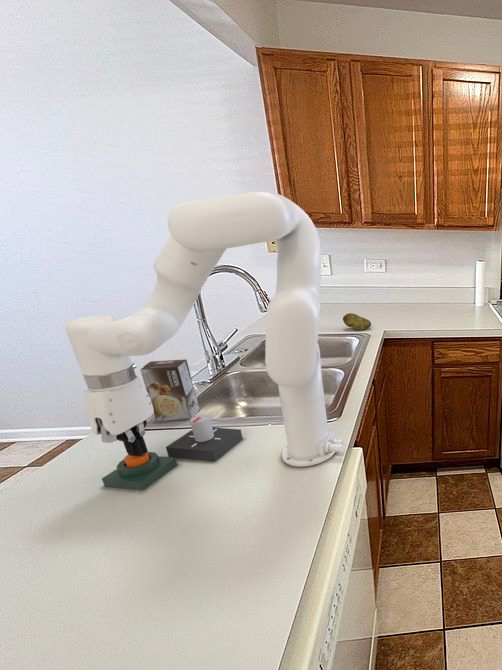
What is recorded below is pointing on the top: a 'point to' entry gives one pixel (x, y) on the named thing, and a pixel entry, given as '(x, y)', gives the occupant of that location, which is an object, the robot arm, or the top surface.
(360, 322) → the potato
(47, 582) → the top surface
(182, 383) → the food box
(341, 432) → the top surface
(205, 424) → the timer knob
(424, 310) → the top surface
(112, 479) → the block
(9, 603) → the top surface
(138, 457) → the button
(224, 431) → the timer panel
